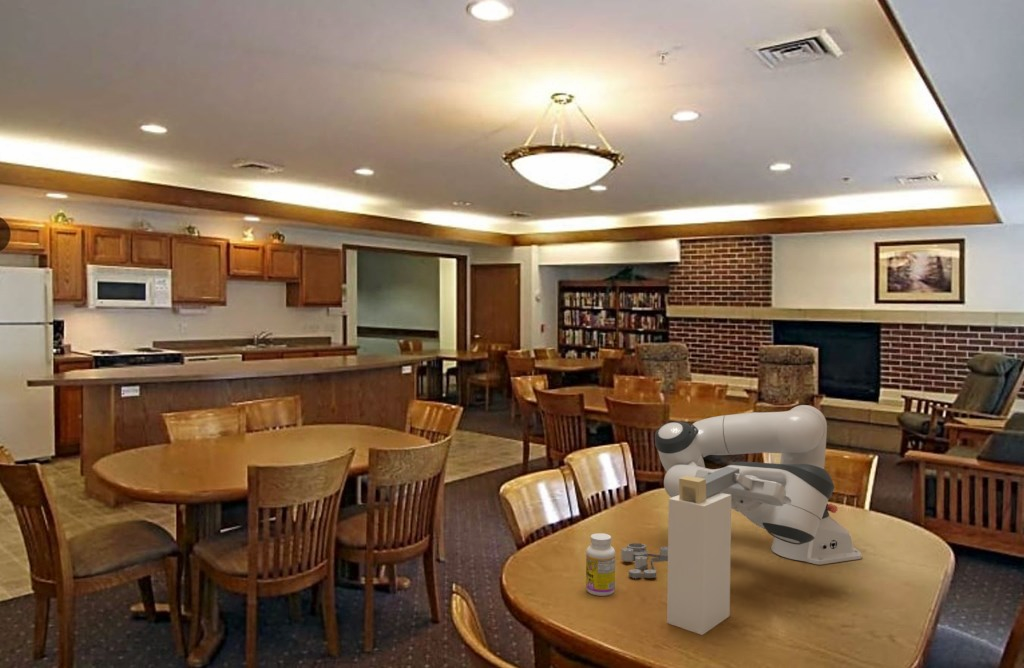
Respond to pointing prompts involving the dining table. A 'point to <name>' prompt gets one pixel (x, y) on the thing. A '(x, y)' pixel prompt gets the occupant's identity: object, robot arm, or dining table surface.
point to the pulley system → (642, 559)
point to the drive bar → (705, 485)
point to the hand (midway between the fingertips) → (726, 474)
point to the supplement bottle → (600, 566)
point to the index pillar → (699, 562)
